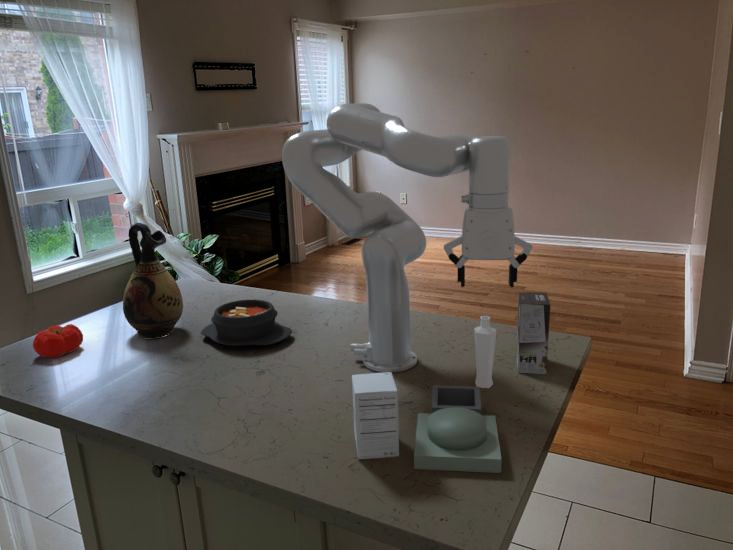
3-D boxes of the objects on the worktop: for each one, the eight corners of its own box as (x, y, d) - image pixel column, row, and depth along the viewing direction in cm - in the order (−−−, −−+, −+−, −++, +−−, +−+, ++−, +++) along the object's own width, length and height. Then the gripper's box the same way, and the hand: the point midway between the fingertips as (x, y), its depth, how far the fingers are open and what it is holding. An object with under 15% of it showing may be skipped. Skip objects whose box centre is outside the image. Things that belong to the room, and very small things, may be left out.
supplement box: (353, 437, 108) (351, 373, 105) (394, 434, 109) (392, 370, 105) (356, 460, 101) (353, 393, 98) (400, 457, 102) (398, 389, 98)
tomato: (28, 359, 148) (23, 335, 146) (61, 343, 158) (56, 320, 156) (61, 363, 146) (56, 338, 144) (92, 345, 156) (88, 322, 154)
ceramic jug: (198, 328, 165) (186, 221, 157) (152, 347, 153) (136, 232, 145) (157, 318, 174) (144, 216, 166) (111, 335, 162) (93, 227, 154)
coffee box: (547, 374, 130) (551, 304, 126) (517, 373, 131) (519, 303, 127) (544, 357, 139) (547, 291, 134) (515, 356, 140) (518, 290, 136)
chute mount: (414, 468, 98) (413, 441, 97) (420, 403, 120) (420, 380, 118) (501, 473, 96) (501, 445, 95) (491, 405, 118) (492, 382, 117)
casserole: (306, 332, 160) (304, 302, 158) (266, 358, 144) (263, 325, 142) (230, 320, 170) (227, 292, 168) (185, 344, 154) (181, 313, 152)
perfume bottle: (496, 380, 128) (498, 314, 124) (493, 389, 124) (495, 321, 120) (474, 378, 130) (475, 313, 126) (471, 387, 126) (472, 320, 122)
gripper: (443, 205, 114) (443, 290, 119) (536, 203, 112) (533, 291, 116) (443, 199, 121) (443, 280, 126) (531, 197, 119) (528, 280, 123)
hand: (486, 285), depth 121 cm, fingers open, 9 cm apart
